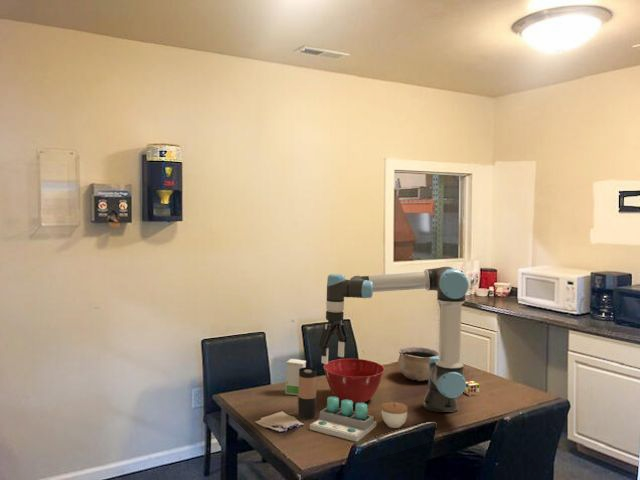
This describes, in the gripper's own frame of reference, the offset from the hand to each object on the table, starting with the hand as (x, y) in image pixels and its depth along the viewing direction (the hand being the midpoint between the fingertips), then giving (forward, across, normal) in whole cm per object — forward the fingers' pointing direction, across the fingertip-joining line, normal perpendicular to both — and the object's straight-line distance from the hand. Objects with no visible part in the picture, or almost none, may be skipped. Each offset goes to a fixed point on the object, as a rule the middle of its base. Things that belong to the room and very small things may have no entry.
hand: (332, 360), depth 227 cm
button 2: (+19, +6, +11) cm, 23 cm away
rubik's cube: (+24, -65, +42) cm, 81 cm away
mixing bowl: (+24, -24, -2) cm, 34 cm away
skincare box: (+24, -14, -29) cm, 40 cm away
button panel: (+24, +8, +11) cm, 28 cm away
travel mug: (+24, +7, -8) cm, 27 cm away
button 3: (+19, +6, +4) cm, 21 cm away
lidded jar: (+24, -6, +27) cm, 36 cm away
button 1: (+19, +6, +17) cm, 26 cm away
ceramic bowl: (+24, -72, +11) cm, 77 cm away
